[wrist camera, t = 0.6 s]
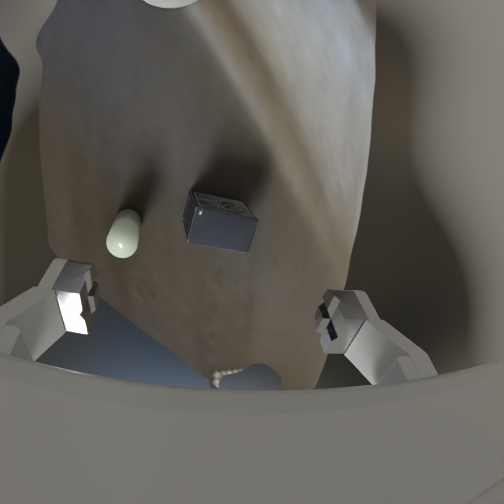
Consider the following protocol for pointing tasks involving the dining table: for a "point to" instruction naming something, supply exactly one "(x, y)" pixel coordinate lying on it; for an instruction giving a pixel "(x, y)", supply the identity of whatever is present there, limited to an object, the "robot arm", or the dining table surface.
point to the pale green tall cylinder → (124, 234)
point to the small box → (218, 222)
